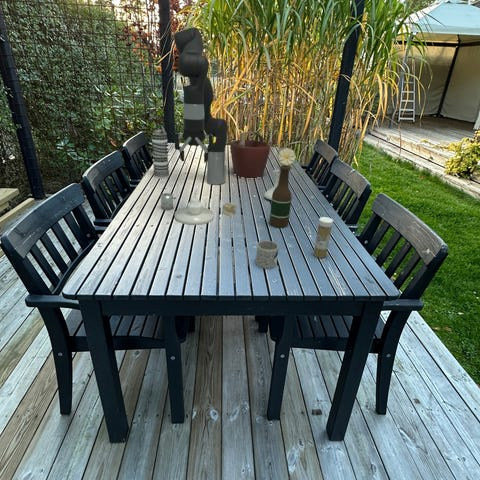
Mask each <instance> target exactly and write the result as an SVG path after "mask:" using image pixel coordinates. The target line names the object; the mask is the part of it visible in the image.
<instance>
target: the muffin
mask: <svg viewBox="0 0 480 480" xmlns="http://www.w3.org/2000/svg"><path fill="white" fill-rule="evenodd" d="M186 207H188V209H189V211H190V213H191V214H192V215H198V214H199V213H200V211H201V209H202V207H203V203H202V202H201V200H200V199H199V197H191V199H190V201H189V202H188V203H187V205H186Z"/></svg>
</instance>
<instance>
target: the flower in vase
mask: <svg viewBox="0 0 480 480" xmlns="http://www.w3.org/2000/svg"><path fill="white" fill-rule="evenodd" d="M277 156H278V157H277V159H278V161H279V163H280V164H282V165H286V166H289V167H290V170H289V171H291V170H293V166H292V164H294V162H295V160H296V157H297V156H296V153H295V151H294V149H291V148H288V147H286V148H283V149H281V150H280V151H279V153H278V155H277ZM274 167H276V168H278V169H275V170H273V171H272V172H273V175H274V185H273V187H271V188H270V189H268V190H267V191H266V192H264V194H263V197H265V199H268V200H269V201H272V194H273V191H274V189H275V188H276V187H277V186H278V182H279V177H280V171H281V169H280V167H281V166H278V165H276V164H275V163H274Z"/></svg>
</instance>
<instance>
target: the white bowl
mask: <svg viewBox="0 0 480 480" xmlns="http://www.w3.org/2000/svg"><path fill="white" fill-rule="evenodd" d="M174 219H175V221H176V222H178V223H181V224H183V225H189V226H190V225H191V226H198V225H199V226H200V225H204V224H205V225H206V224H209V223H211V222H213V220H214V219H215V212H214V211H213V210H211V209H209V208H207V207H203V206H202V209H201V211H200V213H199V214H198V215H192V214H191V213H190V211H189V209H188V207H187V206H185V207H182V208H179V209H177V210H176V211H175V212H174Z"/></svg>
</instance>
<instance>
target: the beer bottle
mask: <svg viewBox="0 0 480 480" xmlns="http://www.w3.org/2000/svg"><path fill="white" fill-rule="evenodd" d="M279 167H280V168H279V170H281V171H280V177H279V182H278V186H277V187H276V188H275V189H274V191H273V194H272V200H271V202H270V203H271V204H270V214H269V224H270V226H271V227H274V228H275V229H277V228H278V229H283V228H286V227H288V226H289V222H290V213H291V205H292V191H291V189H290V188H289V176H290V173H289V172H290V171H291V170H290V167H289V166H286V165H284V164H282V165H281V166H279Z"/></svg>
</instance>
